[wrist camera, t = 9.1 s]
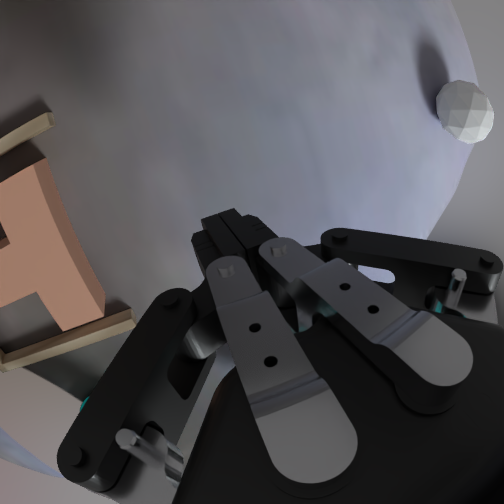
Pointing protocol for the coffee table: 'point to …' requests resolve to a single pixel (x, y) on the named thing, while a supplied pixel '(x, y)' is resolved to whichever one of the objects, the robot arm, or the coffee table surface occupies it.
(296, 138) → the coffee table surface
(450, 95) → the geometric ball
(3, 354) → the frame
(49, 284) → the t piece
